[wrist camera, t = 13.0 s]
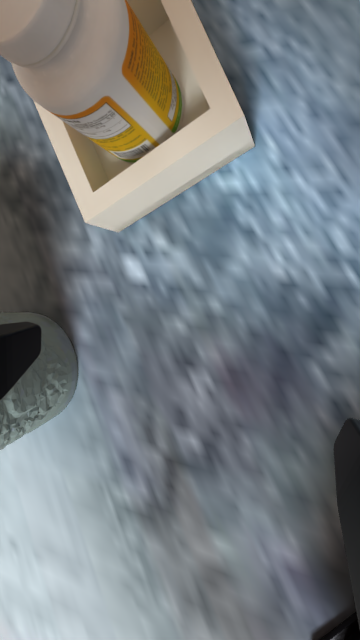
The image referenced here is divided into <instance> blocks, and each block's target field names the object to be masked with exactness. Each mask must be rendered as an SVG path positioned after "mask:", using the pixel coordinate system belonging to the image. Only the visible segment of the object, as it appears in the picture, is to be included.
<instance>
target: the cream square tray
mask: <svg viewBox="0 0 360 640" xmlns="http://www.w3.org/2000/svg"><path fill="white" fill-rule="evenodd" d="M127 2H128V3H129V5H130V7H131V8H132V10H133V11H134V13H135V15H136V16H137V18H138V19H139V21H140V23H141V24H142V26H143V28H144V29H145V31H146V32H147V34H148V35H149V37H150V39H151V40H152V42H153V43H154V45H155V47H156V48H157V50H158V52H159V53H160V55H161V56H162V58H163V60H164V61H165V63H166V64H167V66H168V67H169V69H170V71H171V72H172V74H173V75H174V77H175V79H176V81H177V83H178V85H179V87H180V89H181V92H182V95H183V101H184V115H183V121H182V125H181V128H180V131H179V132H177V133H176V134H174V135H173V136H172V137H170V138H169V139H167V140H166V141H165V142H163V143H162V144H160V145H159V146H158V147H156V148H155V149H153V150H152V151H151V152H149V153H148V154H146V155H145V156H144V157H142V158H141V159H139V160H138V161H137V162H135V163H134V164H131V163H127V162H124V161H122V160H120V159H118V158H117V157H115V156H114V155H112V154H111V153H109V152H108V151H106V150H105V149H103V148H102V147H100V146H99V145H97V144H96V143H95V142H93V141H92V140H90V139H89V138H87V137H86V136H84V135H83V134H81V133H80V132H78V131H77V130H75V129H74V128H72V127H71V126H70V125H68V124H67V123H65V122H64V121H62V120H61V119H59V118H58V117H56V116H55V115H53V114H52V113H50V112H49V111H47V110H46V109H44V108H43V107H42V106H40V105H39V104H38V103H36V102H35V101H34V103H35V105H36V108H37V110H38V112H39V115H40V117H41V119H42V122H43V124H44V126H45V129H46V131H47V134H48V136H49V138H50V141H51V143H52V145H53V148H54V150H55V152H56V155H57V157H58V160H59V162H60V164H61V167H62V169H63V171H64V174H65V176H66V178H67V181H68V183H69V186H70V188H71V190H72V193H73V195H74V197H75V200H76V202H77V204H78V207H79V209H80V211H81V214H82V216H83V219H84V221H85V223H87V224H91V225H94V226H98V227H101V228H105V229H108V230H112V231H115V232H120V231H122V230H123V229H125V228H126V227H128V226H129V225H131V224H133V223H134V222H136V221H137V220H139V219H141V218H142V217H144V216H145V215H147V214H148V213H150V212H152V211H153V210H155V209H156V208H158V207H160V206H161V205H163V204H164V203H166V202H168V201H169V200H171V199H172V198H174V197H175V196H177V195H179V194H180V193H182V192H183V191H185V190H187V189H188V188H190V187H191V186H193V185H194V184H196V183H198V182H199V181H201V180H202V179H204V178H206V177H207V176H209V175H210V174H212V173H214V172H215V171H217V170H218V169H220V168H221V167H223V166H225V165H226V164H228V163H229V162H231V161H233V160H234V159H236V158H237V157H239V156H240V155H242V154H244V153H245V152H247V151H248V150H250V149H252V148H253V147H255V145H254V142H253V139H252V136H251V133H250V130H249V128H248V125H247V122H246V119H245V116H244V114H243V112H242V109H241V107H240V105H239V103H238V101H237V99H236V97H235V94H234V92H233V90H232V88H231V86H230V84H229V81H228V79H227V77H226V75H225V73H224V71H223V68H222V66H221V64H220V62H219V60H218V58H217V56H216V53H215V51H214V49H213V47H212V45H211V43H210V40H209V38H208V36H207V34H206V32H205V30H204V28H203V25H202V23H201V21H200V19H199V17H198V15H197V12H196V10H195V8H194V6H193V4H192V2H191V0H127Z"/></svg>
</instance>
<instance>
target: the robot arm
mask: <svg viewBox="0 0 360 640" xmlns="http://www.w3.org/2000/svg"><path fill="white" fill-rule="evenodd" d="M41 336H42V330H41V327H40V326H39V325H38V324H35V323H32V322H27V321H26V322H17V323H9V324H0V400H1V399H2V398H3V397H4V396H5V395H6V394H7V393H8V392H9V391H10V390H11V389H12V388H13V386H14V385H15V384H16V383H17V382H18V380H19V379H20V378H21V377H22V376H23V374H24V373H25V372H26V371H27V370H28V368H29V367H30V366H31V365H32V364H33V363H34V361H35V360H36V359H37V358H38V356H39V355H40V352H41ZM334 461H335V477H336V493H337V505H338V511H339V517H340V523H341V528H342V534H343V539H344V545H345V550H346V556H347V561H348V567H349V573H350V578H351V584H352V589H353V595H354V600H355V606H356V611H357V612H356V613H354V614H353V615H352V616H351V617H349V618H348V619H347V620H345V621H344V622H343V623H341V624H340V625H339V626H338V627H336V628H335V629H334V630H332V631H331V632H330V633H328V634H327V635H326V636H325V637H323V638H322V639H321V640H360V420H357V419H353V418H349V419H347V420H346V421H345V423H344V425H343V427H342V429H341V431H340V433H339V435H338V437H337V439H336V441H335V444H334Z"/></svg>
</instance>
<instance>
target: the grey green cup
mask: <svg viewBox="0 0 360 640" xmlns="http://www.w3.org/2000/svg"><path fill="white" fill-rule="evenodd" d="M26 321H27V322H32V323H35V324H38V325H39V326H40V327H41V330H42V336H41V352H40V355H39V356H38V358H37V359H36V360H35V361H34V363H33V364H32V365H31V366H30V367H29V368H28V370H27V371H26V372H25V373H24V374H23V376H22V377H21V378H20V379H19V380H18V382H17V383H16V384H15V385H14V386H13V388H12V389H11V390H10V391H9V392H8V393H7V394H6V395H5V396H4V397H3V398H2V399H1V400H0V450H1V449H3V448H4V447H5V446H6V445H8V444H11V443H12V442H14V441H15V440H17V439H19V438H21V437H22V436H23V435H24V434H27V433H29V432H31V431H33V430H35V429H36V428H38V427H39V426H41V425H43V424H44V423H46V422H47V421H49V420H50V419H52V418H54V417H55V416H57V415H58V414H60V413H61V412H62V411H63V410H64V409H65V407H66V406H67V405H68V404H69V402H70V401H71V399H72V397H73V395H74V392H75V390H76V386H77V380H78V365H77V359H76V355H75V352H74V349H73V346H72V344H71V342H70V340H69V338H68V336H67V335H66V333H65V332H64V330H63V329H62V328H61V327H60V326H59V325H58V324H57V323H56V322H54V321H53V320H51V319H50V318H48V317H46V316H44V315H41V314H37V313H31V312H0V324H9V323H17V322H26Z"/></svg>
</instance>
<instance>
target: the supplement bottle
mask: <svg viewBox="0 0 360 640" xmlns="http://www.w3.org/2000/svg"><path fill="white" fill-rule="evenodd" d="M0 55H1V56H2V57H4V58H5V59H6V60H8V61H10V62H11V63H12V66H13V69H14V72H15V75H16V77H17V79H18V81H19V83H20V85H21V86H22V88H23V89H24V90H25V92H26V93H27V94H28V95H29V96H30V97H31V98H32V99H33V100H34V101H35V102H36V103H38V104H39V105H40V106H42V107H43V108H44V109H46V110H47V111H49V112H50V113H52V114H53V115H55V116H56V117H58V118H59V119H61V120H62V121H64V122H65V123H67V124H68V125H70V126H71V127H72V128H74V129H75V130H77V131H78V132H80V133H81V134H83V135H84V136H86V137H87V138H89V139H90V140H92V141H93V142H95V143H96V144H97V145H99V146H100V147H102V148H103V149H105V150H106V151H108V152H109V153H111V154H112V155H114V156H115V157H117V158H118V159H120V160H122V161H124V162H127V163H131V164H134V163H135V162H137V161H138V160H139V159H141V158H142V157H144V156H145V155H146V154H148V153H149V152H151V151H152V150H153V149H155V148H156V147H158V146H159V145H160V144H162V143H163V142H165V141H166V140H167V139H169V138H170V137H172V136H173V135H174V134H176V133H177V132H179V131H180V128H181V125H182V121H183V115H184V101H183V95H182V92H181V89H180V87H179V85H178V83H177V81H176V79H175V77H174V75H173V74H172V72H171V71H170V69H169V67H168V66H167V64H166V63H165V61H164V60H163V58H162V56H161V55H160V53H159V52H158V50H157V48H156V47H155V45H154V43H153V42H152V40H151V39H150V37H149V35H148V34H147V32H146V31H145V29H144V28H143V26H142V24H141V23H140V21H139V19H138V18H137V16H136V15H135V13H134V11H133V10H132V8H131V7H130V5H129V3H128V2H127V0H0Z"/></svg>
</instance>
